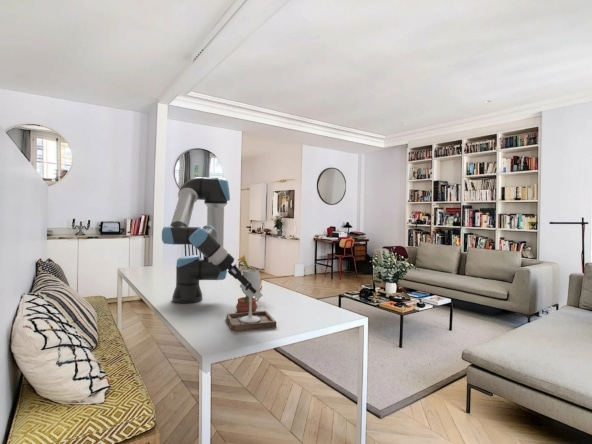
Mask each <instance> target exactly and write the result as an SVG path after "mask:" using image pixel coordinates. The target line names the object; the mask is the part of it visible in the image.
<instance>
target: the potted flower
mask: <svg viewBox="0 0 592 444" xmlns="http://www.w3.org/2000/svg"><path fill="white" fill-rule="evenodd" d="M243 260H244V259H243ZM243 262H244V263H245V264H246V265H244V263H243ZM237 263H238V264H237ZM241 263H242V264H241ZM234 265H235V266H236V267H237V268H238V270H239V271H240V272H241V273H242V271H244V270H249V269H250V267H249V264H248V263H247V261H246V262H245V261H242V260H239V261H238V262H236V263H234V264H233V266H234ZM240 265H241V268H240ZM244 266H246V267H247V268H246V267H244ZM255 270H258V271H259V267H256V269H255ZM239 288H240V289H242V288H241V283H240V284H239ZM256 300H257V298H256V299H255V297H253V298H252V312H257V309H258V305H257V303H256V302H257V301H256ZM235 308H236V309H235V310H237V311H238V313H244V312H249V297H248V296H246V295H245V296H244V297H239V298H237V303H236V306H235Z"/></svg>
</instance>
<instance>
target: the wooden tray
mask: <svg viewBox="0 0 592 444" xmlns="http://www.w3.org/2000/svg"><path fill="white" fill-rule="evenodd" d="M248 315H249V312H244V313H241V312H235V313H234V312H231V313H226V317H225V318H226V321H227V324H228V326H229V328H230V330H231V332H232V333H233V332H234V333H236V332H237V333H238V332H245V331H246V332H247V331H255V330H264V329H265V330H266V329H267V330H268V329H269V330H270V329H276V328H277V321H276V319H275V318H274V317H273V316H272V315H271V314H270V313H269V312H268V311H267V310H260V311H257V310H256V311H254V312H252V316H257V317H259V318H260V321H258V322H255V323H245V322H241V321H240V318H242V317H244V316H248Z"/></svg>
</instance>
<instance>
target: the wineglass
mask: <svg viewBox="0 0 592 444" xmlns="http://www.w3.org/2000/svg"><path fill="white" fill-rule="evenodd" d="M242 275H243V276H244V277H245V278H246V279H247V280H248V281H249V282H250V283H251V284H252V285H253V286H254V287H255V288H256V289H257V290H258V291H259V290H260V288H261V285H262V284H261V280H260V276H261V273H260V271H259V269H258V270H256V269H250V270H242ZM240 284H241V288H240V289H241V291H242V293H243V294H244V295H245V297H246V296H248V297H249V315H248V316H244V317H242V318H240V321H241V322H245V323H255V322H258V321H260V318H259V317H257V316H252V298H254V297H255V296H254V295H253V294H252V293H250V292H249V291H248V290H247V291H246V290H245V289H246V287H245V286H244V285H243V284H242V283H241V282H240ZM248 284H249V283H248ZM248 284H247V285H248ZM247 285H246V286H247Z"/></svg>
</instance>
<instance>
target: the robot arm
mask: <svg viewBox="0 0 592 444" xmlns="http://www.w3.org/2000/svg"><path fill="white" fill-rule="evenodd" d="M230 195H231V194H230V187H229V181H228V180H227V178H224V177H223V178H222V177H201V176H200V177H199V176H198V177H193V178H191V179H189V180H187V181H185V182H184V184H182V185H181V187H180V188H179V189H178V193H177V198H178V200H177V203H176V206H175V210H174V213H173V215H172V219H171V222H170V224H169V225H170V226H169V225H167V226H164V227H163V228H162V230H161V241H162V243H163V244H164V245H173V246H174V245H191V246H193V247H195V248H196V249H197V250H198V251H199V252H200V253H201V254H202V255H203V257H201V256H200V255H199V254H193V255H192V254H191V255H185V256H181V257H179V258H177V260H176V265H175V266H176V267H175V269H176V270H175V271H176V273H175V275H176V276H175V282H176V283H175V288H174V291H173V292H172V293H173V294H172V299H171V301H172V302H173V303H177V304H193V303H198V302H202V300H203V292H202V289H201V286H200V281H222V280H225V279H226V278H227V273H228V274H229V275H230V276H232V277H233V278H234V279H235V280H238V282H240V284H241V283H242V284H243V285H244V286H245V287H246V289H245V290H246V291H247V290H248V291H249V292H250V293H252V294H253V295H254V296H253V297H254V298H255V297H256V300H257V299H258V300H260V299H261V298H262V297H263V293H262V292H261V291H260V292H259V291H258V290H257V289H256V288H255V287H254V286H253V285H252V284H251V283H250V282H249V281H248V280H247V279H246V278H245V277H244V276H243V275H242V274H243V272H242V271H241V272H240V271H239V270H238V266H235V265H234V264H233V263H234V261H235V258H234V257H233V256H232V255H231V254H230V253H228V250H227V249H225V248H224V236H225V235H224V234H225V233H224V231H225V229H224V228H225V225H224V224H225V207H226V205H227V204H228V201H229V202H230V200H231V197H230ZM198 200H199V201H201V200H202V201H203V202H204V205H206V207H207V208H206V212H207V213H206V214H207V215H206V219H207V220H206V225H204V226H202V227H201V226H200V227H199V226H189V225H190V223H191V222H190V221H191V219H192V218H191V217H192V214H193V211H194V206H195V203H196V202H197V201H198ZM232 264H233V265H232ZM248 283H249V284H248ZM247 284H248V285H247ZM246 285H247V286H246Z"/></svg>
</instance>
